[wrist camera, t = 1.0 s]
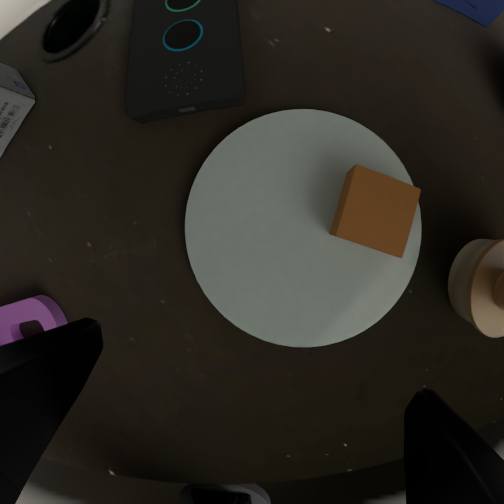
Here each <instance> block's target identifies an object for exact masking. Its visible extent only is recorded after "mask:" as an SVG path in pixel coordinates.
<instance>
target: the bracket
mask: <svg viewBox="0 0 504 504" xmlns="http://www.w3.org/2000/svg"><path fill="white" fill-rule="evenodd" d="M31 320H37V321H39V322H40V323H41V325H42V326H43V329H44V331H47V330H50V329H53V328H56V327H59V326H62V325H65V324H68V323H67V320H66V318H65V315H64V313H63V312H62V310H61V308H60V307H59V306H58V304H57V303H56V302H55V301H54V300H52V299H51V298H49V297H47V296H45V295H38V296H35V297H31V298H28V299H25V300H22V301H18V302H15V303H12V304H9V305H5V306H2V307H0V346H1V345H4V344H7V343H10V342H13V341H16V340H19V339H22V338H24V337H23V336H22V334H21V332H20V328H19V324H20V323H22V322H27V321H31Z"/></svg>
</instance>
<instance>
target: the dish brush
mask: <svg viewBox="0 0 504 504" xmlns="http://www.w3.org/2000/svg"><path fill="white" fill-rule="evenodd" d="M448 295H449V299H450V302H451V305H452V307H453V309H454V310H455V312H456V313H457V314H458V315H459V316H461V317H462V318H464V319H465V320H467V321H469V322H470V323H472V324H473V325H474V327H475V328H476V329H477V330H478V331H480V332H481V333H482V334H484V335H486V336H488V337H495V338H496V337H502V336H504V238H503V239H499V240H490V239H477V240H473V241H471V242H469V243H468V244H467V245H465V246H464V247H463V248H462V249H461V250H460V252H459V253H458V254H457V256H456V257H455V259H454V261H453V264H452V266H451V269H450V273H449V278H448Z"/></svg>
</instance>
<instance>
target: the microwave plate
mask: <svg viewBox="0 0 504 504" xmlns="http://www.w3.org/2000/svg"><path fill="white" fill-rule="evenodd" d="M355 164H357V165H360V166H363V167H366V168H369V169H371V170H374V171H377V172H379V173H382V174H385V175H387V176H390V177H392V178H395V179H397V180H400V181H402V182H405V183H407V184H410V185H412V186H413V184H412V181H411V179H410V177H409V175H408V173H407V171H406V169H405V167H404V165H403V164H402V163H401V161H400V160H399V158H398V157H397V156H396V154H395V153H394V152H393V151H392V150H391V148H390V147H389V146H388V145H387V144H386V143H385V142H384V141H383V140H382V139H380V138H379V137H378V136H377V135H376V134H374V133H373V132H372V131H370V130H369V129H367V128H366V127H364V126H362V125H361V124H359V123H357V122H355V121H353V120H351V119H348V118H346V117H344V116H341V115H337V114H334V113H331V112H326V111H320V110H314V109H293V110H284V111H279V112H275V113H271V114H267V115H264V116H262V117H259V118H257V119H254V120H252V121H250V122H248V123H246V124H245V125H243V126H241V127H239V128H238V129H236V130H235V131H234V132H232V133H231V134H230V135H228V136H227V137H226V138H225V139H224V140H223V141H222V142H221V143H220V144H219V145H218V146H217V147H216V148H215V149H214V150H213V151H212V152H211V154H210V155H209V156H208V158H207V159H206V160H205V162H204V163H203V165H202V167H201V169H200V170H199V172H198V174H197V176H196V178H195V181H194V183H193V185H192V188H191V191H190V195H189V198H188V202H187V208H186V215H185V239H186V247H187V253H188V256H189V260H190V264H191V267H192V269H193V272H194V274H195V277H196V279H197V281H198V283H199V285H200V287H201V288H202V290H203V292H204V294H205V295H206V296H207V298H208V299H209V300H210V302H211V303H212V304H213V305H214V307H215V308H216V309H217V310H218V311H219V312H220V313H221V314H222V315H223V316H224V317H225V318H227V319H228V320H229V321H230V322H232V323H233V324H234V325H236V326H237V327H238V328H240V329H242V330H244V331H245V332H247V333H249V334H250V335H253V336H255V337H257V338H260V339H262V340H264V341H268V342H271V343H275V344H278V345H285V346H291V347H315V346H324V345H328V344H333V343H337V342H340V341H343V340H345V339H348V338H350V337H353V336H355V335H357V334H359V333H360V332H362V331H364V330H366V329H367V328H369V327H370V326H372V325H373V324H374V323H376V322H377V321H378V320H380V319H381V318H382V317H383V316H384V315H385V314H386V313H387V312H388V311H389V310H390V309H391V308H392V307H393V305H394V304H395V303H396V302H397V300H398V299H399V298H400V296H401V295H402V293H403V292H404V290H405V288H406V287H407V285H408V283H409V281H410V278H411V276H412V274H413V272H414V269H415V266H416V262H417V259H418V256H419V250H420V243H421V215H420V207H419V203H418V204H417V208H416V212H415V216H414V219H413V223H412V227H411V230H410V234H409V237H408V241H407V244H406V247H405V251H404V254H403V257H402V258H398V257H395V256H392V255H389V254H386V253H384V252H381V251H378V250H375V249H372V248H369V247H366V246H363V245H360V244H357V243H354V242H351V241H348V240H345V239H342V238H339V237H336V236H333V235H330V234H329V233H330V230H331V226H332V223H333V220H334V217H335V213H336V210H337V206H338V203H339V199H340V196H341V193H342V189H343V185H344V182H345V178H346V175H347V172H348V171H349V170H350V169H351V168H352V167H353V166H354V165H355Z"/></svg>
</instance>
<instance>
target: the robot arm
mask: <svg viewBox="0 0 504 504" xmlns="http://www.w3.org/2000/svg"><path fill="white" fill-rule="evenodd" d="M102 349H103V339H102V333H101V326H100V323H99V322H98V321H96V320H94V319H91V318H83V319H80V320H77V321H74V322H71V323H68V324H65V325H62V326H59V327H56V328H53V329H50V330H47V331H44V332H41V333H38V334H34V335H31V336H28V337H25V338H22V339H19V340H16V341H13V342H10V343H7V344H4V345H1V346H0V504H15V503H16V501H17V499H18V497H19V495H20V494H21V491H22V489H23V487H24V486H25V484H26V482H27V480H28V478H29V477H30V475H31V473H32V471H33V470H34V468H35V466H36V464H37V463H38V461H39V459H40V457H41V456H42V454H43V452H44V451H45V449H46V447H47V446H48V444H49V442H50V441H51V439H52V437H53V436H54V434H55V432H56V431H57V429H58V427H59V426H60V424H61V423H62V421H63V419H64V418H65V416H66V415H67V413H68V411H69V410H70V408H71V407H72V405H73V403H74V402H75V400H76V399H77V397H78V396H79V394H80V392H81V391H82V389H83V387H84V385H85V383H86V381H87V379H88V377H89V375H90V373H91V371H92V369H93V367H94V365H95V364H96V362H97V360H98V358H99V356H100V354H101V352H102ZM404 468H405V483H406V504H504V460H503V459H502V458H501V457H500V456H499V455H498V454H497V453H496V452H495V451H494V450H493V449H492V448H491V447H490V446H489V445H488V444H487V443H486V442H485V441H484V440H483V439H482V438H481V437H480V436H479V435H478V434H477V433H476V432H475V431H474V430H473V429H472V428H471V427H470V426H469V425H468V424H467V423H466V422H465V421H464V420H463V419H462V418H461V417H460V416H459V415H458V414H457V413H456V412H455V411H454V410H453V409H452V408H451V407H450V406H449V405H448V404H447V403H446V402H445V401H444V400H443V399H442V398H441V397H440V396H439V395H438V394H437V393H436V392H435V391H434V390H432V389H419V390H418V391H417V392H416V394H415V395H414V397H413V398H412V400H411V401H410V403H409V404H408V406H407V408H406V410H405V414H404ZM190 493H191V496H192V500H193V503H194V504H252V499H251V495H249V494H244V493H230V492H219V491H210V490H202V489H194V488H193V489H192V490H191V492H190Z"/></svg>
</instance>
